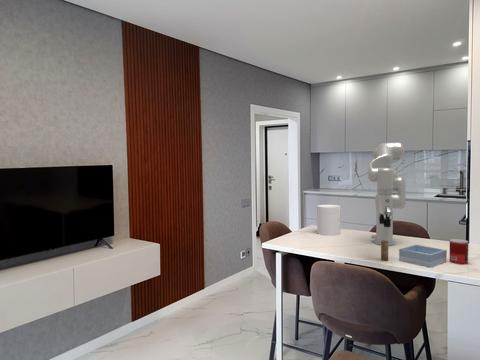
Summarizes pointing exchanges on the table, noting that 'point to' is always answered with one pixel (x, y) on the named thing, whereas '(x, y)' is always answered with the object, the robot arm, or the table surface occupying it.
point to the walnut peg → (384, 250)
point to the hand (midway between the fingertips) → (384, 225)
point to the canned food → (458, 251)
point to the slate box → (422, 255)
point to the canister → (328, 220)
